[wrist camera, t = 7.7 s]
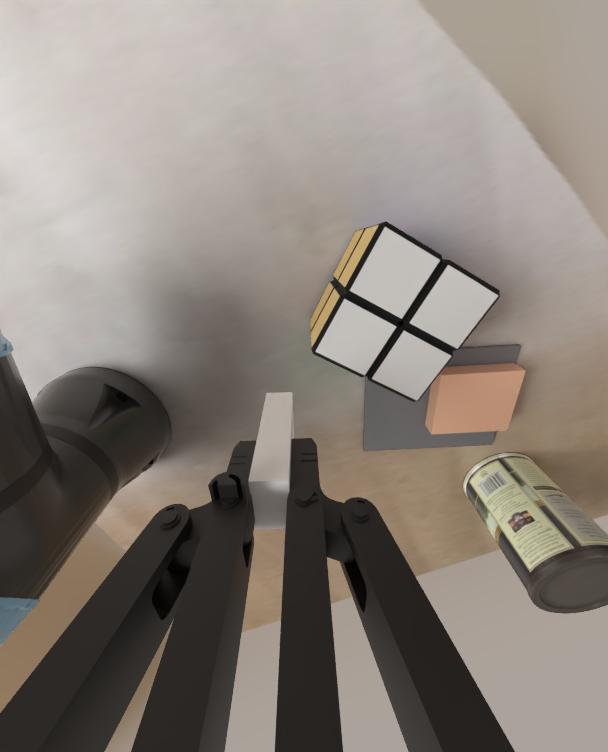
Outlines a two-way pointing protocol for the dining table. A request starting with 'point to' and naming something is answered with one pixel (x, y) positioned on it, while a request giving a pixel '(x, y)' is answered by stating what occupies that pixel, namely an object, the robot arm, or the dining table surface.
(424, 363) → the puzzle cube
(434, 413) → the tile
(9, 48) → the dining table surface
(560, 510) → the coffee can
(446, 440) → the mat
